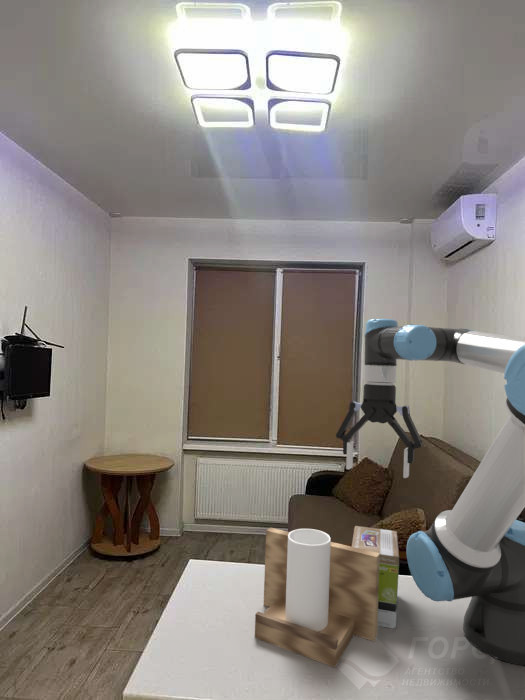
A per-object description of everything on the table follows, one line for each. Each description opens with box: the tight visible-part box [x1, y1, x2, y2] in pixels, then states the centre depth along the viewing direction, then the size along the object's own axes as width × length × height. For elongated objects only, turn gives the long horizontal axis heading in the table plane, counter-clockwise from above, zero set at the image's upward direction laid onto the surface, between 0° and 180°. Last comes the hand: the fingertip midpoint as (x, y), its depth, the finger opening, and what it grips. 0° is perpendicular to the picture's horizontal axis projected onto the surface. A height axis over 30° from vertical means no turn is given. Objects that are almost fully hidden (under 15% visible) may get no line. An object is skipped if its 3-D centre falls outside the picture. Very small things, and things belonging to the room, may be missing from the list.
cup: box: [285, 528, 332, 631], centre depth 89 cm, size 8×8×16 cm
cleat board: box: [254, 527, 380, 668], centre depth 89 cm, size 24×13×16 cm, turn 62°
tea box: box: [351, 525, 400, 629], centre depth 100 cm, size 15×10×15 cm, turn 166°
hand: (376, 472), depth 110 cm, fingers open, 13 cm apart
